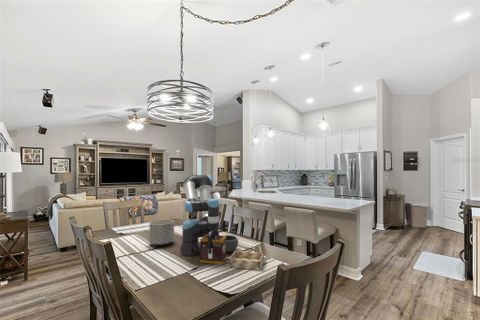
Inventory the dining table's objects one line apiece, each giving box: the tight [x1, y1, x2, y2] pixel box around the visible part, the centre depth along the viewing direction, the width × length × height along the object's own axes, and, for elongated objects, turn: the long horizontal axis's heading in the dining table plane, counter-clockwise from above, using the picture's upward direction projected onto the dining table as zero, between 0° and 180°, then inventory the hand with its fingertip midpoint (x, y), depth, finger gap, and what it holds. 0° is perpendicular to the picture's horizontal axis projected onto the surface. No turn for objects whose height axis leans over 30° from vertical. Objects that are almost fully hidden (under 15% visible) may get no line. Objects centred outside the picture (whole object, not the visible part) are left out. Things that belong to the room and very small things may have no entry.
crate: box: [228, 250, 265, 271], centre depth 158 cm, size 20×15×5 cm
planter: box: [148, 218, 175, 247], centre depth 198 cm, size 19×19×18 cm
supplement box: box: [199, 234, 227, 265], centre depth 164 cm, size 10×15×16 cm
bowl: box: [224, 234, 239, 253], centre depth 182 cm, size 15×15×10 cm
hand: (213, 255), depth 164 cm, fingers closed on supplement box, 10 cm apart
